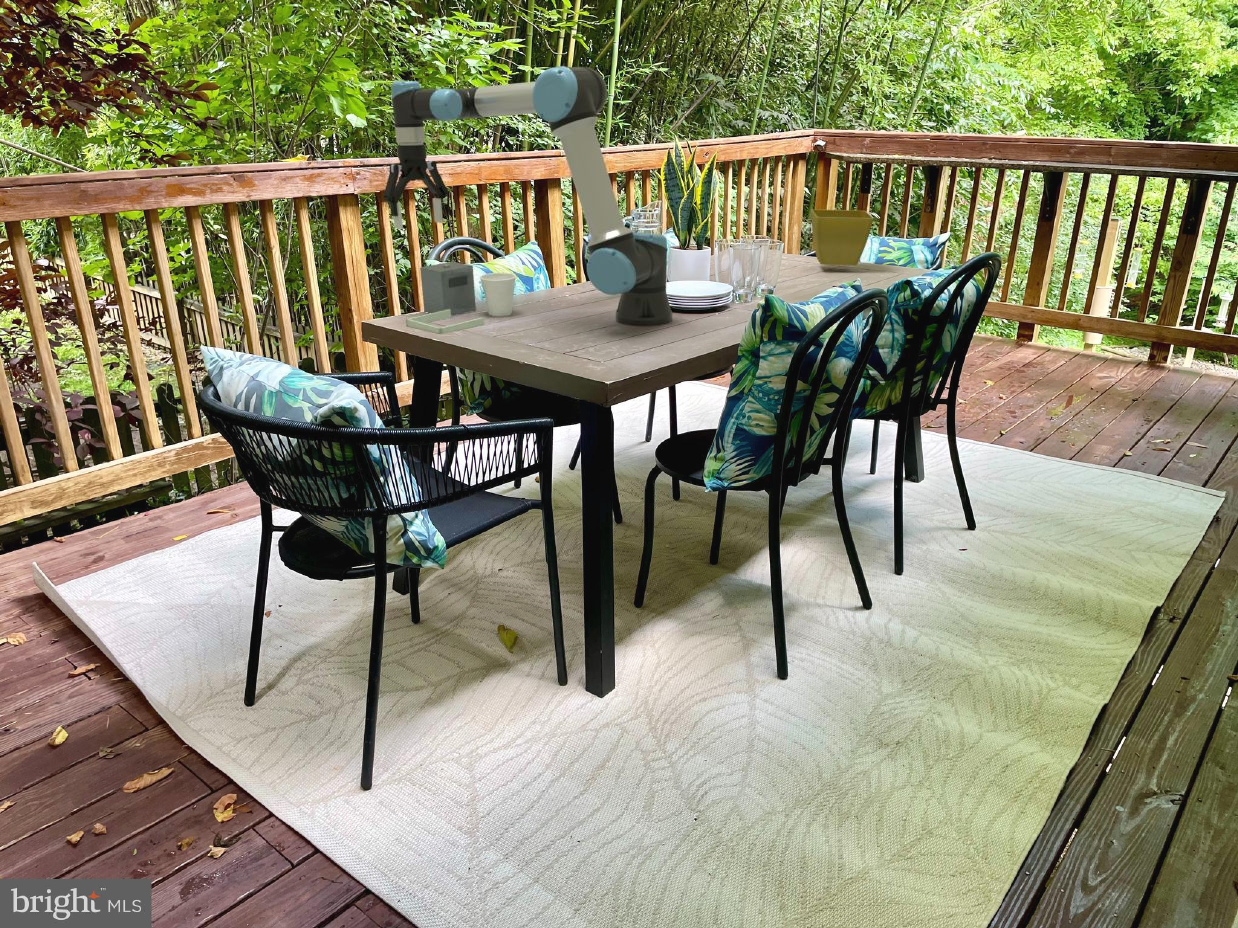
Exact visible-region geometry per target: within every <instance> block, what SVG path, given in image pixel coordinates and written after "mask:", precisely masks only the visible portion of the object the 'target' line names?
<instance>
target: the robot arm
mask: <svg viewBox="0 0 1238 928" xmlns="http://www.w3.org/2000/svg"><path fill="white" fill-rule="evenodd" d="M390 87H391V88H390V89H391V92H390V93H391V98H390V99H391V104H392V110H393V119H394V130H395V138H396V139H395V140H396V143H398V145H397V147H396V151H397V159H398V161H399V164H389V174H388V178H387V182H386V185H385V189H384V192H383V195H382V201H383V202H384V203H385V202H386V203H388V204H389V207H390V215H391V216H392V217H393V224H394V229H399V230H401V229H404V225H403V215H402V206H401V203H399V200H400V199H401V196H402V195H403V193H404V191H405V189H406V187H407V186H408V184H409V183H410V182H415V181H421V182H422V183H423V184H424V185H425V186H426V188H427V189H428V190H429V191H430V192H431V194H432V195H433V196H434V197H433V198H432V206H433V216H434V222H435V223H439V224H443V222H444V220H443V219H444V218H443V210H444V201H443V200H444V199H445V198H446V196H448V195H449V191H448V189H447V187H446V184H445V183H444V181H443V178H442V176H441V174H440V172H439V170H438V167H437V162H436V161H434V160H428V161H426V160H427V157H428V156H427V146H426V144H424V143H426V136H425V135H426V133H425V127H424V121H441V122H449V121H455V120H466V119H480V118H481V119H482V118H487V117H489V118H490V117H503V116H505V117H506V116H515V115H516V116H517V115H518V116H519V115H530V114H537V115H538V116H539V117H540V118H542V119H543V120H544V121H546V122H547V123H548V126H549V129H550V133H551V135H552V136H554V137H556V138H557V139H559V140H560V143H561V145H562V150H563V153H564V156H565V158H566V161H567V165H568V168H569V171H570V174H571V179H572V181H573V185H574V187H575V190H576V193H577V197H578V200H579V203H580V207H581V210H582V212H583V216H584V218H585V222H586V224H587V228H588V231H589V235H590V239H589V241H588V243H587V249H588V252H589V255H590V256H589V257H588V261H587V262H586V273H587V274H586V275H587V277H588V279H589V281H590V283H591V285H592V286H594V288H595V289H596V290H598V291H600V292H601V293H603V294H605V295H609V296H614V295H620V298H619V301H618V305H617V309H616V311H615V322H616V323H619V324H620V325H626V326H635V327H653V326H654V327H656V326H662V325H667V324H670V323H672V322H673V311H672V309H671V305H670V302H669V298H668V294H667V267H668V266H667V264H668V246H667V245H668V241H667V237H666V236H664V234H660V233H659V234H658V233H648V232H634V231H633V230H631V229H630V228H628V227H626V226H625V224H624V221H623V218H622V214H621V210H620V208H619V205H618V201H617V199H616V195H615V192H614V188H613V185H612V181H611V178H610V175H609V172H608V169H607V165H606V162H605V159H604V155H603V153H602V150H601V149H602V148H601V145H600V143H599V138H598V136H597V132H596V129H595V126H596V124H597V122H598V119H599V118H598V113H600V112H601V111H602V110H603V108H604V106H605V105H606V102H607V99H608V98H607V97H608V89H607V84H606V82H605V80H604V78H603V76H602V75H601V74H600V73H599V72H598V71H596V70H594V68H591V67H587V66H586V67H585V66H574V67H573V66H565V65H559V66H556V67H550V68H547V69H545V70H544V71H542V72H541V73H540V74H539V75H538V77H537V78H536V81H528V82H518V83H516V82H515V83H506V84H499V85H498V84H497V85H487V86H479V87H477V86H476V87H468V88H466V87H465V88H431V89H429V88H427V89H422V88H421V84H420V82H419V81H416V80H415V81H414V80H413V81H412V80H410V81H408V80H407V81H394V82H392V83H391V86H390ZM427 170H428V172H429V173H428V172H427ZM400 173H401V174H400ZM399 174H400V176H399ZM429 174H430V175H429Z"/></svg>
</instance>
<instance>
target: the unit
mask: <svg viewBox="0 0 1238 928" xmlns="http://www.w3.org/2000/svg"><path fill="white" fill-rule="evenodd" d="M419 269H420V271H419V272H420V280H421V290H422V301H423V311H424V312H428V313H435V312H439V311H444V310H448V309H450V310H451V315H453V316H457V315H456V314H458V315H462V314H461V313H463V314H466V313H465V312H468V313H470V312H469V311H473V312H477V307H476V293H475V291H476V290H475V280H474V279H475V276H474V266H473V265H472V264H471V265H470V264H468V263H467V264H466V263H462V262H457V261H448V262H444V263H443V262H441V263H438V264H432V265H428V266H427V265H426V266H420V268H419ZM428 313H427V314H428Z"/></svg>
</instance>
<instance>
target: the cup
mask: <svg viewBox="0 0 1238 928" xmlns="http://www.w3.org/2000/svg"><path fill="white" fill-rule="evenodd" d="M516 278H517V275H516V274H514V273H510V272H491V273H485V274H482V275H480V276H479V279H480V283H481V285H482V291H483V294H484V299H485V304H486V308H487V312H488V315H489V316H490V315H492V316H491V317H506V316H507V317H508V316H511V315H512V311H513V304H514V303H513V301H514V294H515V287H516V286H515V285H516Z"/></svg>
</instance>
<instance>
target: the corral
mask: <svg viewBox="0 0 1238 928" xmlns="http://www.w3.org/2000/svg"><path fill="white" fill-rule="evenodd" d="M446 318H447V319H451V318H452V316H451V310H450V309H448V310H444V311H439V312H435V313H431V314H428V313H426V314H423V315H419V316H413V317H411V318H406V319H405V325H406V327H409V326H410V328H414V329H417V330H422V331H427V332H430V333H431V332H432V333H435V334H440V335H443V334H447V333H452V332H458V331H463V330H465V329H466V330H467V329H471V328H475V327H476V328H477V327H479V326H480V327H481V326H485V318H484V317H478V318H475V319H471V320H467V321H462V322H458V323H454V324H449V325H446V326H442V327H439V326H435V325H431V324H427V323H431V321H432V322H436V321H437V322H438V321H441V320H446Z"/></svg>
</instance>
